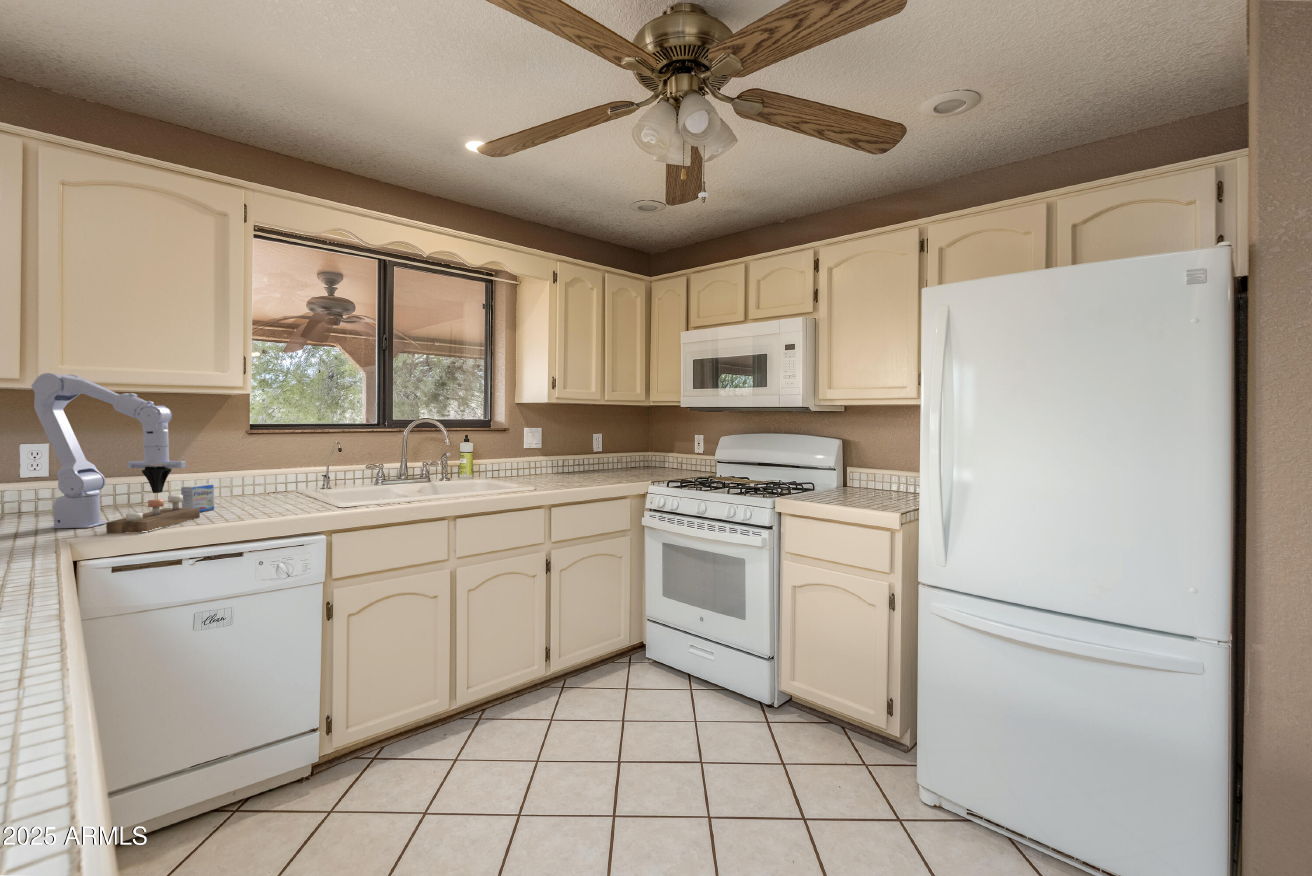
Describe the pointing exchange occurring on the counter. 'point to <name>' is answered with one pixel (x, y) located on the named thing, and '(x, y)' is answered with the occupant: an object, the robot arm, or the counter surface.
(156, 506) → the knob middle
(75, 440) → the robot arm
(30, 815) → the counter surface
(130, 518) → the knob
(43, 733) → the counter surface
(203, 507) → the medicine box
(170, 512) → the rack
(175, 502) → the knob
